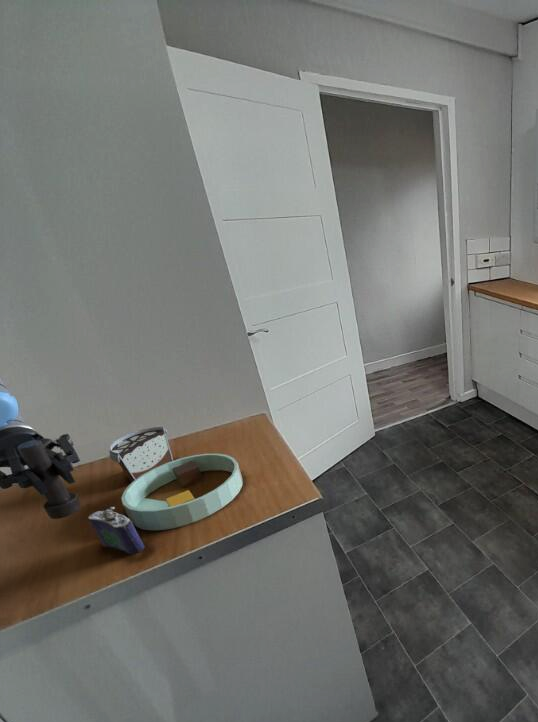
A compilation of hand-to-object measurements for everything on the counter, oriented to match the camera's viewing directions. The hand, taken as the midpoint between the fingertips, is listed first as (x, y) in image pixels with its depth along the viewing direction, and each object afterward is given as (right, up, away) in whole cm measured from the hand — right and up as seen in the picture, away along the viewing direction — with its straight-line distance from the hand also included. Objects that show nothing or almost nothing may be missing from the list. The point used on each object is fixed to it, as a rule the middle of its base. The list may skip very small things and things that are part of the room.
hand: (55, 481), depth 71 cm
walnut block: (+4, -6, +25) cm, 26 cm away
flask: (+7, -15, +6) cm, 18 cm away
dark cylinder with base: (-5, -7, +6) cm, 11 cm away
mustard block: (+10, -10, +15) cm, 21 cm away
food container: (-10, -5, +29) cm, 31 cm away
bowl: (+7, -9, +21) cm, 24 cm away
